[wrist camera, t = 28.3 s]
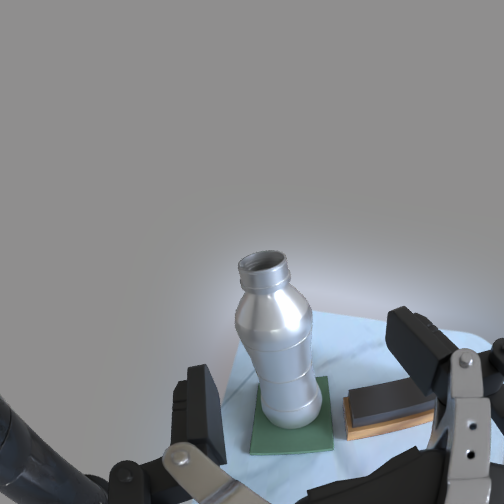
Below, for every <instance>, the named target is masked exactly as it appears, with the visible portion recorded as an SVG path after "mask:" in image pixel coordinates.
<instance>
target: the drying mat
mask: <svg viewBox="0 0 504 504" xmlns="http://www.w3.org/2000/svg"><path fill="white" fill-rule="evenodd" d="M315 379H316V382H317V384H318V386H319V388H320V391H321V395H322V405H321V409H320V412H319V414H318V416H317V417H316V418H315V419H314V420H313V421H312V422H311V423H309V424H308V425H306V426H303V427H300V428H296V429H285V428H281V427H278V426H276V425H274V424H273V423H271V422H270V420H269V419H268V418H267V417H266V415H265V414H264V412H263V410H262V404H261V389H260V384H259V385H258V393H257V401H256V409H255V416H254V424H253V431H252V438H251V445H250V452H249V453H250V455H286V454H302V453H313V452H323V451H331V450H334V443H333V430H332V418H331V407H330V397H329V387H328V378H327V376H323V377H315Z"/></svg>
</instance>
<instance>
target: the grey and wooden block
mask: <svg viewBox="0 0 504 504" xmlns="http://www.w3.org/2000/svg"><path fill="white" fill-rule="evenodd" d="M435 398H436V394H435V393H432V394H430V395H429V396H427V397H425V396H424V394H423V393H422V392H421V390H420V389H419V388H418V386H417V385H416V384H415V382H414V381H413V380H412V378H411V377H409V378H405V379H401V380H397V381H392V382H388V383H383V384H378V385H373V386H368V387H363V388H357V389H351V390H349V393H348V397H344V398H343V411H344V419H345V427H346V436H347V441H349V440H355V439H361V438H366V437H371V436H376V435H381V434H386V433H390V432H394V431H398V430H402V429H406V428H410V427H413V426H417V425H420V424H424V423H427V422H430V421H433V416H434V406H435Z"/></svg>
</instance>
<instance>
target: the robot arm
mask: <svg viewBox="0 0 504 504" xmlns="http://www.w3.org/2000/svg"><path fill="white" fill-rule="evenodd" d="M385 340H386V344H387V347H388V349H389V350H390V352H391V353H392V354H393V355H394V357H395V358H396V359H397V360H398V362H399V363H400V364H401V366H402V367H403V368H404V369H405V371H406V372H407V373H408V375H409V376H410V377H411V378H412V380H413V381H414V382H415V384H416V385H417V386H418V388H419V389H420V390H421V392H422V393H423V394H424V396H425V397H427V396H429V395H430V394H432V393H435V394H436V398H435V406H434V416H433V425H432V432H431V437H430V440H429V442H428V445H427V449H425V450H420V451H419V450H418V449H417V447H416V446H414V447H412V448H411V449H409V450H407V451H405V452H403V453H401V454H399V455H397V456H395V457H393V458H391V459H390V460H389V461H387V462H386V463H385V464H384V465H382V466H381V467H380V468H378V469H377V470H376V471H374V472H373V473H371V474H370V475H368V476H365V477H360V478H354V479H348V480H341V481H335V482H332V483H329V484H326V485H323V486H320V487H316V488H313V489H310V490H307V494H308V496H306V497H304V498H302V499H300V500H299V501H297V502H296V503H295V504H504V465H501V464H497V463H492V462H490V451H491V418H492V419H493V421H494V422H495V424H496V425H497V427H498V428H499V429H500V431H501V432H502V434H503V435H504V384H503V382H504V338H500V339H497V340H496V341H495V342H494V343H493V346H492V348H491V350H488V351H485V352H481V353H476V352H475V351H473V350H471V349H467V348H462V349H459V348H458V347H457V346H456V345H455V344H453V343H452V342H451V341H450V340H449V339H448V338H447V337H446V336H445V335H444V334H443V333H442V332H441V331H440V330H438V328H437V327H436V326H435V325H433V324H432V322H430V321H429V320H428V319H427V318H426V317H424V316H422V315H420V314H418V313H414V314H413V313H412V312H411V311H410V310H409V309H407V307H405V306H402V307H399V308H397V309H394V310H392V311H389V312H388V316H387V326H386V336H385ZM172 410H173V412H172V426H171V428H172V429H171V444H170V447H168V448H167V449H166V450H165V452H164V454H163V456H162V457H160V458H158V459H156V460H153V461H151V462H148V463H145V464H142V465H138V464H137V463H135V462H133V461H128V460H126V461H121V462H119V463H117V464H116V465H114V467H113V468H112V469H111V471H110V475H109V488H108V493H107V491H106V490H105V489H104V488H102V487H101V486H100V485H98V484H97V483H95V482H94V481H92V480H90V479H89V478H87V477H86V476H85V475H83V474H82V473H81V472H80V471H78V470H77V469H76V468H74V467H73V466H72V465H70V464H69V463H68V462H67V461H66V460H65V459H63V458H62V457H61V456H60V455H59V454H58V453H56V452H55V451H54V450H53V449H52V448H51V447H50V446H48V444H46V443H45V442H44V441H43V440H42V439H41V438H40V437H39V436H38V435H37V434H36V433H35V432H34V431H33V430H32V429H31V428H30V427H29V426H28V425H27V424H26V423H25V422H24V421H23V420H22V419H21V418H20V416H19V415H18V414H17V413H16V412H15V411H14V410H13V409H12V408H11V406H10V405H9V404H8V403H7V402H6V400H5V399H4V398H3V397H2V396H1V395H0V492H1V493H3V494H4V495H5V496H7V497H8V498H10V499H11V500H13V501H14V502H16V503H17V504H179V503H182V502H185V501H188V500H191V499H193V498H194V499H195V500H196V501H197V502H198V503H199V504H271V503H269V502H268V501H266V500H265V499H263V498H262V497H261V496H259V495H258V494H256V493H255V492H253V491H252V490H251V489H249V488H248V487H247V486H245V485H244V484H242V483H241V482H240V481H238V480H235V479H233V478H232V477H231V476H229V475H228V474H227V473H226V472H225V471H223V470H222V469H221V468H220V465H224V464H227V460H226V452H225V443H224V435H223V426H222V416H221V407H220V398H219V393H218V390H217V387H216V385H215V383H214V381H213V378H212V376H211V374H210V371H209V369H208V367H207V365H206V364H203V365H198V366H192V367H188V372H187V380H184V381H179V382H178V384H177V386H176V388H175V390H174V391H173V407H172Z"/></svg>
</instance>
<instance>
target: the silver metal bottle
mask: <svg viewBox="0 0 504 504" xmlns="http://www.w3.org/2000/svg"><path fill="white" fill-rule="evenodd" d="M238 269H239V274H240V278H241V279H240V284H241V288H242V289H243V290H244V291H245V293H244V295H243V297H242V298H241V300H240V302H239V305H238V307H237V309H236V313H235V328H236V331H237V333H238V335H239V338H240V339H241V341H242V343H243V345H244V347H245V349H246V351H247V352H248V354H249V356H250V358H251V360H252V363H253V365H254V368H255V370H256V373H257V375H258V378H259V384H260V389H261V404H262V410H263V412H264V414H265V415H266V417H267V418H268V419H269V420H270V422H271V423H273V424H274V425H276V426H278V427H281V428H285V429H296V428H300V427H303V426H306V425H308V424H309V423H311V422H312V421H313V420H314V419H315V418H316V417H317V416H318V414H319V412H320V409H321V405H322V395H321V391H320V388H319V386H318V384H317V382H316V379H315V375H314V371H313V367H312V352H311V341H312V323H313V319H312V309H311V307H310V305H309V303H308V302H307V300H306V298H305V297H304V296H303V295H302V294H301V293H300V292H299V291H298V290H297V289H296V288H295V287H293V286H292V285H291V284H290V283H289V282H290V280H291V274H290V270H289V269H288V265H287V258H286V255H285V254H284V253H282V252H280V251H274V250H269V251H261V252H256V253H253V254H251V255H248V256H246V257H244V258H243V259H242V260H240V262H239V263H238Z"/></svg>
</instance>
